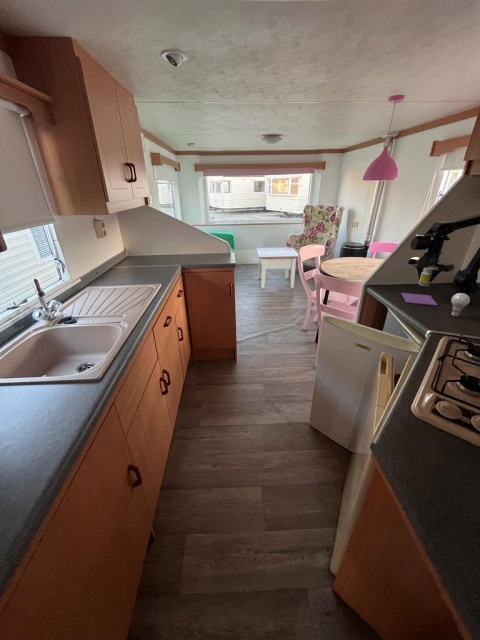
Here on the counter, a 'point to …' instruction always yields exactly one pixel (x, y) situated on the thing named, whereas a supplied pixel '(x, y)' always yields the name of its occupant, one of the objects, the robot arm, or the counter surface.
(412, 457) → the counter surface
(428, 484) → the counter surface
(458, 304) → the lightbulb
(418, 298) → the cloth
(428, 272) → the supplement bottle
